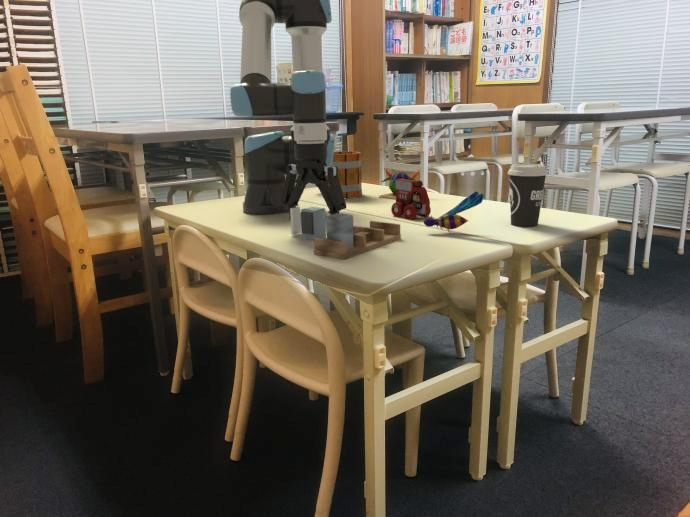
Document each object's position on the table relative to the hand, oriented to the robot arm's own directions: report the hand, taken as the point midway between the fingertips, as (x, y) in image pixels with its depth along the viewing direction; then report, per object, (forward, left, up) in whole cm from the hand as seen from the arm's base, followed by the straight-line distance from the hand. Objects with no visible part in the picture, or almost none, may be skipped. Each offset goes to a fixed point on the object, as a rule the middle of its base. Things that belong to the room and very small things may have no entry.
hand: (314, 236), depth 131 cm
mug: (-35, +54, 0) cm, 64 cm away
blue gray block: (0, 0, 0) cm, 0 cm away
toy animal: (-14, +61, -1) cm, 63 cm away
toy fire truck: (+7, +34, -1) cm, 35 cm away
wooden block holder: (+14, -1, 0) cm, 14 cm away
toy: (+26, +21, 0) cm, 33 cm away
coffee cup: (+37, +39, 0) cm, 54 cm away
